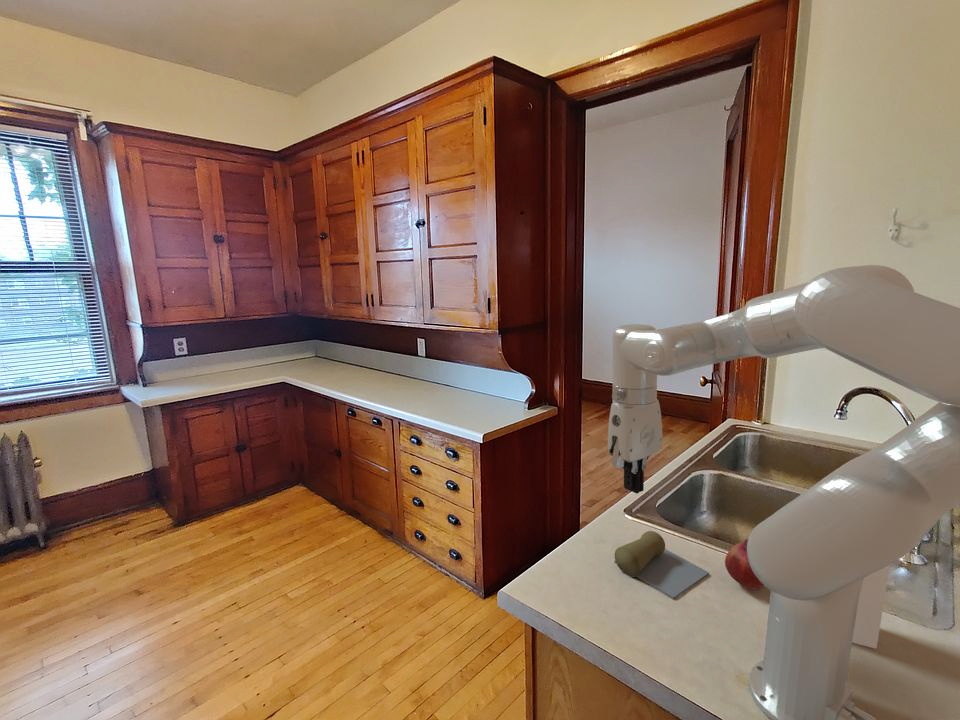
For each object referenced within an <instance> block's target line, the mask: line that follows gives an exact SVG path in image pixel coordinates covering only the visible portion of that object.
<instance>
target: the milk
mask: <svg viewBox="0 0 960 720" xmlns="http://www.w3.org/2000/svg"><path fill="white" fill-rule="evenodd" d="M890 565H891V564H890ZM890 565H888V566H886V567H884V568H883V569H881V570H879V571H877V572H875V573H873V574H871V575H869V576H867V577H865V578H864V580H863V584H862V588H861V592H860V597H859V602H858V607H857V614H856V621H855V626H854V632H853V639H852V644H856V645H860V646H862V647H863V646H864V647H867V648H870V649H875V650H877V648H878V642H879V636H880V635H879V634H880V631H881V630H880V629H881V625H882V617H883V611H884V604H885V598H886V592H887V585H888V579H889V574H890V573H889V572H890Z"/></svg>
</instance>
